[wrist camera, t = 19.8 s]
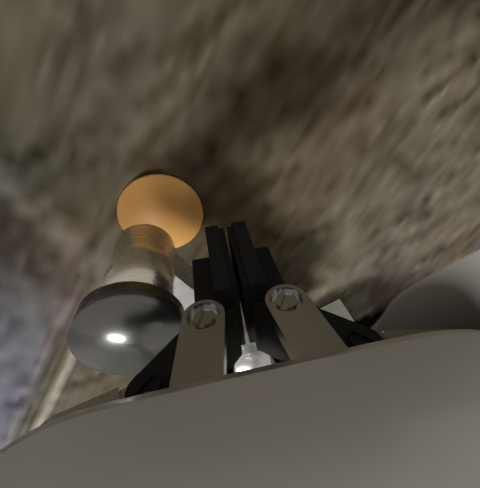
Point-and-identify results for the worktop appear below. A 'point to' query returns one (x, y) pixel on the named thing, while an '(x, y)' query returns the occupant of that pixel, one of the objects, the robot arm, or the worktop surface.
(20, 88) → the worktop surface
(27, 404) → the worktop surface
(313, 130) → the worktop surface
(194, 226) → the crank base
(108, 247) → the worktop surface
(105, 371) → the crank
